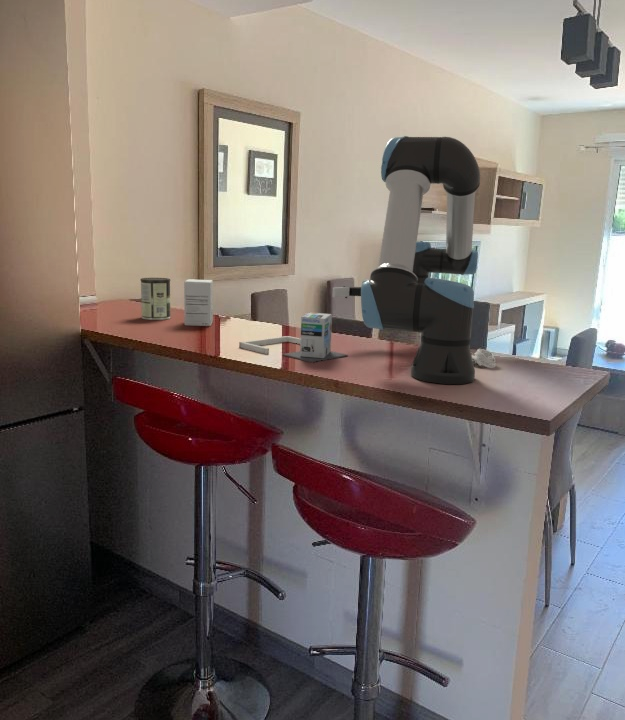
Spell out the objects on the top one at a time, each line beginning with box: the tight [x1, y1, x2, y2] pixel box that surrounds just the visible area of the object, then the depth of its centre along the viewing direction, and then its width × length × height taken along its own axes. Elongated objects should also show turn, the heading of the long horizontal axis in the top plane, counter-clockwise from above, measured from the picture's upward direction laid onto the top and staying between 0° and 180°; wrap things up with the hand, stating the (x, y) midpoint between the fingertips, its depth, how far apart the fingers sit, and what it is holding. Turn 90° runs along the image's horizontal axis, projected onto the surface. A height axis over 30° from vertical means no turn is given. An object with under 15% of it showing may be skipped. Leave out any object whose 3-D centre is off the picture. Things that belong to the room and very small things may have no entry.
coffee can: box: [140, 277, 171, 321], centre depth 228 cm, size 10×10×14 cm
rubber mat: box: [282, 350, 348, 363], centre depth 174 cm, size 11×14×1 cm
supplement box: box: [183, 278, 214, 327], centre depth 219 cm, size 9×9×15 cm
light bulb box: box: [299, 311, 333, 358], centre depth 173 cm, size 11×7×11 cm, turn 168°
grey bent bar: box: [238, 335, 301, 355], centre depth 184 cm, size 12×19×2 cm, turn 136°
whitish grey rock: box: [471, 348, 497, 369], centre depth 170 cm, size 8×7×5 cm
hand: (351, 294), depth 181 cm, fingers open, 13 cm apart
